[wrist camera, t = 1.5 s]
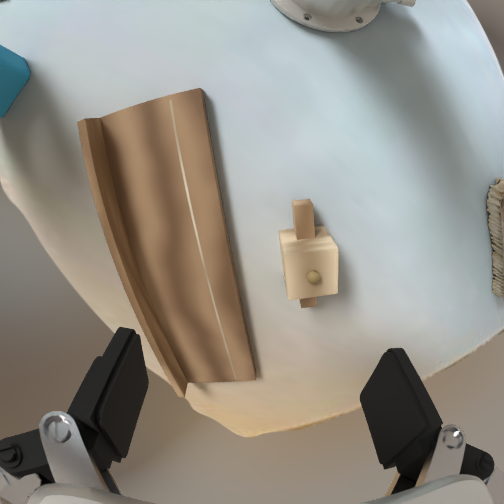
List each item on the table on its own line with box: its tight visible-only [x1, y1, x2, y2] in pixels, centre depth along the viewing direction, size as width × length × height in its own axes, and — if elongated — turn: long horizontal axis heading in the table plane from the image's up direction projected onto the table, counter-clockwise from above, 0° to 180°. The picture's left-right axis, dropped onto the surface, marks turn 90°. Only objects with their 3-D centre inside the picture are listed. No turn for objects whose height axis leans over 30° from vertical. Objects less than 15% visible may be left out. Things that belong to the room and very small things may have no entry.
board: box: [77, 88, 256, 397], centre depth 30 cm, size 12×39×4 cm, turn 8°
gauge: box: [279, 199, 338, 308], centre depth 28 cm, size 5×12×7 cm, turn 8°
